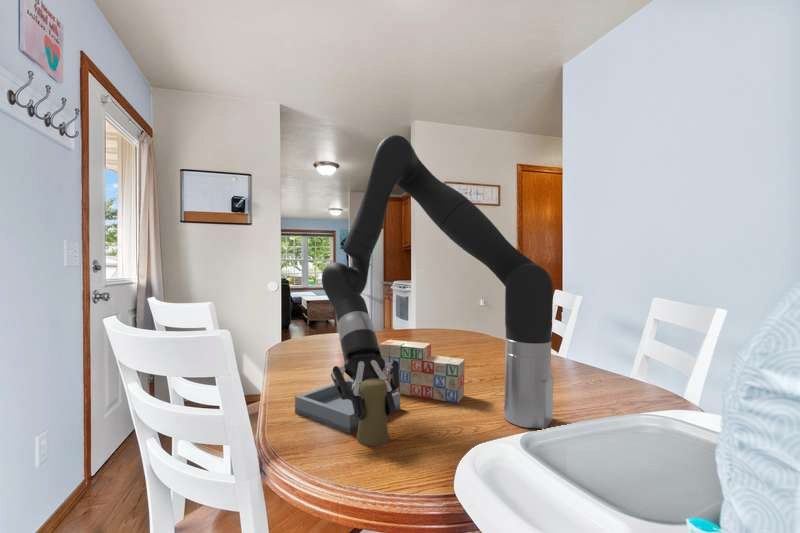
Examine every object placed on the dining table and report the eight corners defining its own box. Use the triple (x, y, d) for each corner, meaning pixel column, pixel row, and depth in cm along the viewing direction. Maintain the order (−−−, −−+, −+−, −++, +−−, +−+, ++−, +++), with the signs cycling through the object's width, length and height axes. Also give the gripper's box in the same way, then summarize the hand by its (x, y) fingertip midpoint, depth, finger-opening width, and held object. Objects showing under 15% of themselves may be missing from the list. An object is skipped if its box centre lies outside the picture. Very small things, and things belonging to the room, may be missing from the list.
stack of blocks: (464, 395, 96) (465, 347, 96) (457, 404, 90) (458, 352, 90) (388, 383, 105) (389, 338, 105) (377, 390, 99) (378, 342, 99)
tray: (400, 408, 87) (400, 392, 87) (349, 433, 74) (349, 415, 74) (347, 392, 97) (347, 378, 97) (294, 412, 83) (295, 396, 83)
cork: (384, 447, 68) (385, 386, 68) (352, 444, 69) (353, 383, 69) (392, 432, 74) (392, 376, 74) (362, 429, 75) (362, 374, 75)
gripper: (327, 329, 76) (342, 412, 65) (394, 325, 81) (418, 401, 70) (321, 350, 80) (334, 431, 70) (384, 345, 86) (406, 419, 75)
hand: (376, 415), depth 70 cm, fingers closed on cork, 5 cm apart
